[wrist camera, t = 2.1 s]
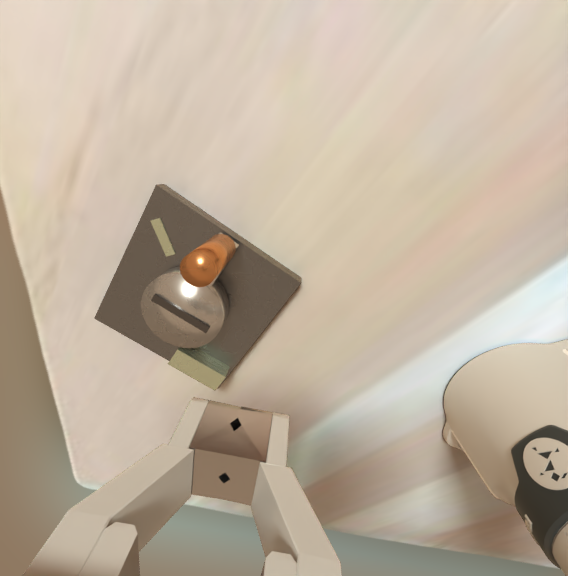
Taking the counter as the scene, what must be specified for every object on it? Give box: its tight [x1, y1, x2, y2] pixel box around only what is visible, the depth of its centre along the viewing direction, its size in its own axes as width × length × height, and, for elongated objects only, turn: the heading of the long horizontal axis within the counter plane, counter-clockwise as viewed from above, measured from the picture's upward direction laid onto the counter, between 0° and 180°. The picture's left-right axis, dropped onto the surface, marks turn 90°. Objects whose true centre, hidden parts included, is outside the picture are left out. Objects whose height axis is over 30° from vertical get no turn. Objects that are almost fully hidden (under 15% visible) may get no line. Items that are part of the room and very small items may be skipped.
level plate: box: [95, 184, 301, 390], centre depth 29 cm, size 16×17×3 cm
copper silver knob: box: [141, 232, 239, 348], centre depth 25 cm, size 8×13×8 cm, turn 145°
